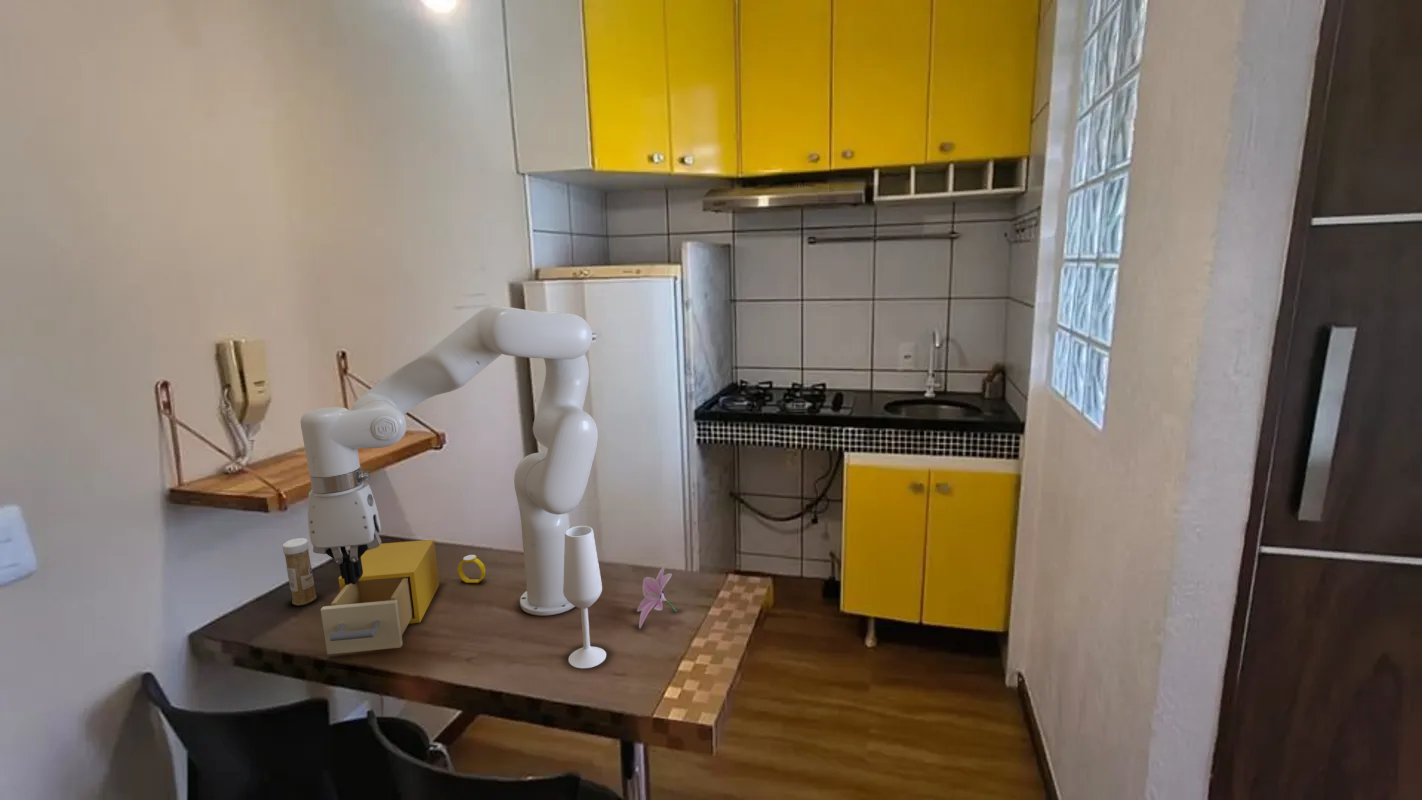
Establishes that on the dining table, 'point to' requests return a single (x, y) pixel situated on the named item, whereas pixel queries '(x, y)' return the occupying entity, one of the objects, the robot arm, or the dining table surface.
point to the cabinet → (404, 570)
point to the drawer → (368, 616)
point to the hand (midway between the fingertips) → (353, 580)
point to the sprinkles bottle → (299, 571)
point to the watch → (467, 560)
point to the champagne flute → (582, 588)
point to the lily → (653, 594)
